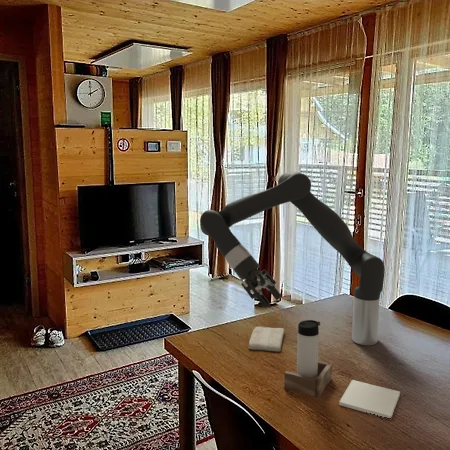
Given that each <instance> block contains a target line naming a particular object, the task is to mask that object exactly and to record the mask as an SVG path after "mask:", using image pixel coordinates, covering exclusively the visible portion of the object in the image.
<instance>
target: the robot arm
mask: <svg viewBox="0 0 450 450" xmlns="http://www.w3.org/2000/svg"><path fill="white" fill-rule="evenodd" d="M311 188H312V182H311V179H310V178H309V177H308V176H307V175H306V174H304V173H302V172H296V171H287V172H285V173H282V174H281V175H280V176H279V178H278V181H277V184H276V185H274V186H273V187H270V188H268V189H266V190H263V191H259V192H256V193H253V194H248V195H246V196H242V197H241V198H238V199H236V200H234V201H231V202H229V203H228V204H226V205H225V206H224V207H223V209H221V210H219V211H215V210H213V209H209V210H205V211H204V212H202V214H201V216H200V219H199V223H200V225H199V226H200V230H201V232H202V233H203V234H204V235H205V236H209V237H210V238H211V239H212V240H213V242H214V244H215V247H216V248H217V250H218V251H219V252H220V254H221V255H222V257H223V258H225V261H226V263H227V264H228V265H229V266H230V268H231V269H232V270H233V272H234V273H235V274H236V275H237V276H238V278H239V279H240V281H242V282H241V286H242V288H243V289H244V290H245V292H246V293H247V294H248V296H249V297H250V298H251V299H252V300H254V299H255V300H258V301H259V302H260V304H261V305H262V306H263V308H264V309H267V308H268V307H269V306H271V302H270V301H269V299H267V297H266V296H265V294H263V291H262V289H266V290H267V291H269V293H270V294H271V295H272V297H273V298H274V299H275V300H279V299H280V298H281V297H282V294H281V293H280V292H279V290H278V288H277V287H276V284H277V281H276V280H275V279H274V278H273V277H272V276H271V274H270V273H269V272H268V271H267V270H266V269H262V270H261V271H260V270H259V268H260V264H259V263H258V262H257V260H256V259H255V257H253V255H252V254H251V253H250V252H249V250H248V249H247V248H246V247H245V246H244V245H243V244H242V243H241V241H240V240H239V239H238V238H237V237H236V236H235V235H234V233H233V232H232V231H231V229H230V228H231V227H232V226H234V225H236V224H238V223H240V222H242V221H245V220H247V219H249V218H252V217H253V216H256V215H257V214H261V213H263V212H265V211H267V210H269V209H272V208H274V207H277V206H280V205H282V204H286V203H291V204H293V205H294V207H296V208H297V209H298V210H299V211H300V212H301V214H302V215H303V216H304V217H305V219H306V220H307V221H308V222H309V223H310V224H311V226H312V227H313V228H314V229H315V230H316V232H317V234H319V235H320V236H321V237H322V239H324V240H325V241H326V242H327V244H329V245H330V246H331V247H332V248H333V249H334V250H335V251H336V252H338V253H339V254H340V256H341V257H342V258H343V259H344V260H345V262H346V263H347V265H348V266H349V267H350V269H351V270H352V271H353V272H354V274H355V275H357V276H358V277H359V286H356V287H355V288H354V289H353V303H352V304H353V306H352V307H353V308H352V327H351V330H352V331H351V339H352V340H351V341H353V342H354V343H356V344H358V345H362V346H374V345H377V343H378V337H379V336H378V335H379V320H380V302H381V299H380V298H381V294H382V292H383V289H384V281H385V273H386V271H385V269H386V267H385V264H384V261H383V260H382V259H381V258H380V257H378V256H377V255H374V254H371V253H370V252H368V251H367V250H365V248H363V247H362V246H360V244H359V243H358V242H357V241H356V240H355V239H354V237H353V235H352V232H351V229H350V228H349V226H348V225H347V223H346V222H345V221H344V219H342V217H340V215H339V214H338V213H337V212H336V211H334V210H333V209H332V208H331V207H329V206H328V205H327V204H325V203H324V202H323V201H321V200H320V199H319V198H317V197H316V196H315V195H314V194H313V193H312V192H311Z"/></svg>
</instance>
